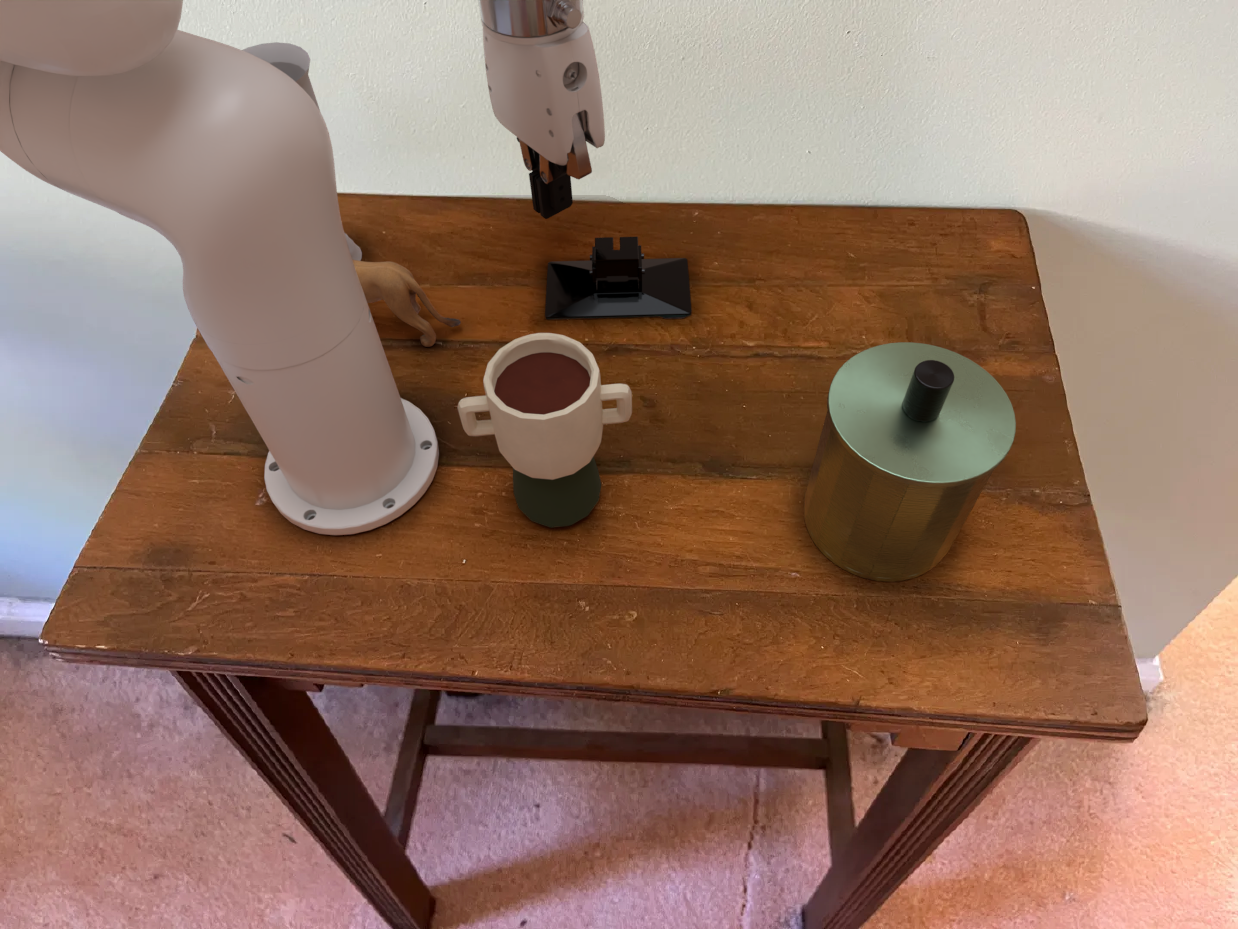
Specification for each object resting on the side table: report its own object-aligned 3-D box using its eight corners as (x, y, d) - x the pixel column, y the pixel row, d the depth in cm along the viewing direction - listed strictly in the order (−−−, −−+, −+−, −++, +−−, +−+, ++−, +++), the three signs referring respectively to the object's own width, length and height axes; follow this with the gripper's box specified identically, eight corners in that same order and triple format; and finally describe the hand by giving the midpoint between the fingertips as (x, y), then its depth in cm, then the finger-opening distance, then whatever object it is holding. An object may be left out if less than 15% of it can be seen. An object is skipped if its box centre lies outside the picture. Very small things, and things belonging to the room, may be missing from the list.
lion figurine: (282, 347, 72) (242, 263, 65) (299, 302, 75) (262, 217, 68) (457, 349, 71) (435, 264, 64) (466, 304, 75) (447, 218, 67)
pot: (773, 510, 61) (796, 405, 52) (869, 437, 65) (907, 327, 56) (885, 610, 57) (932, 514, 47) (982, 525, 60) (1043, 420, 51)
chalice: (362, 285, 76) (296, 94, 62) (286, 285, 77) (203, 95, 62) (378, 232, 81) (320, 41, 66) (306, 232, 81) (232, 42, 66)
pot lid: (787, 411, 53) (797, 365, 49) (904, 329, 56) (920, 281, 53) (930, 527, 48) (951, 484, 44) (1047, 427, 51) (1075, 381, 48)
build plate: (687, 261, 77) (689, 219, 74) (691, 319, 73) (695, 277, 69) (548, 264, 77) (543, 221, 74) (544, 322, 73) (539, 280, 69)
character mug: (628, 449, 65) (625, 324, 54) (638, 529, 61) (637, 410, 50) (482, 462, 64) (451, 339, 54) (483, 544, 60) (449, 428, 50)
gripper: (637, 19, 60) (639, 231, 75) (513, -54, 67) (537, 154, 82) (551, 58, 58) (571, 270, 72) (431, -22, 64) (471, 186, 79)
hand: (553, 208), depth 77 cm, fingers closed
